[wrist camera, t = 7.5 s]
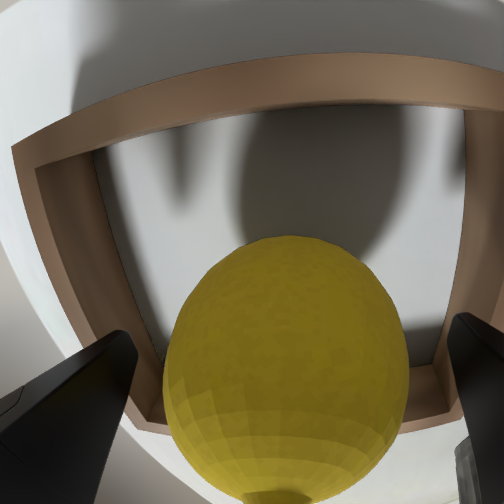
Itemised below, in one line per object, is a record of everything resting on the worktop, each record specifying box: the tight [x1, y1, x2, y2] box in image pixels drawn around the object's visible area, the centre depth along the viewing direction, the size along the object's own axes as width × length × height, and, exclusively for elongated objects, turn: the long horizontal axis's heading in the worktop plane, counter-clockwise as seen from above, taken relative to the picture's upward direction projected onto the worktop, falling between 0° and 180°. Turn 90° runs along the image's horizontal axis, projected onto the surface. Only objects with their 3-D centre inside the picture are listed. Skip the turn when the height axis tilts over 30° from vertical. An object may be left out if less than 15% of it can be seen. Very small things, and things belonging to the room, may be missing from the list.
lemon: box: [163, 235, 409, 504], centre depth 7 cm, size 6×6×8 cm
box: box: [11, 53, 504, 436], centre depth 9 cm, size 15×13×3 cm
